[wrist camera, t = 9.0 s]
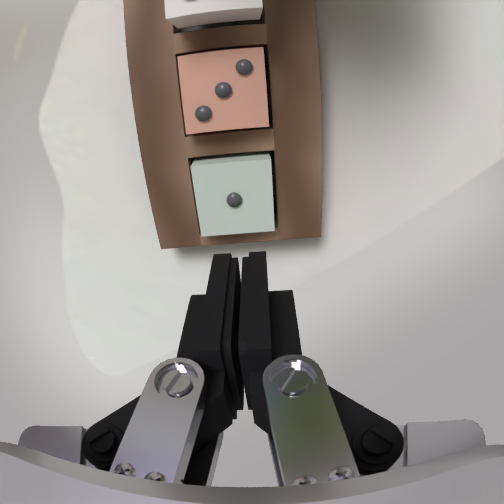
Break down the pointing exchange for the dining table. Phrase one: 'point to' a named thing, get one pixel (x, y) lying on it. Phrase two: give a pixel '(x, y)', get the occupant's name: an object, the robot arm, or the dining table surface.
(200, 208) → the pale grey square block
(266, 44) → the tile board
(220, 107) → the pink three-dot die face
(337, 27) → the dining table surface
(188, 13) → the two-pip tile
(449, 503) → the robot arm
